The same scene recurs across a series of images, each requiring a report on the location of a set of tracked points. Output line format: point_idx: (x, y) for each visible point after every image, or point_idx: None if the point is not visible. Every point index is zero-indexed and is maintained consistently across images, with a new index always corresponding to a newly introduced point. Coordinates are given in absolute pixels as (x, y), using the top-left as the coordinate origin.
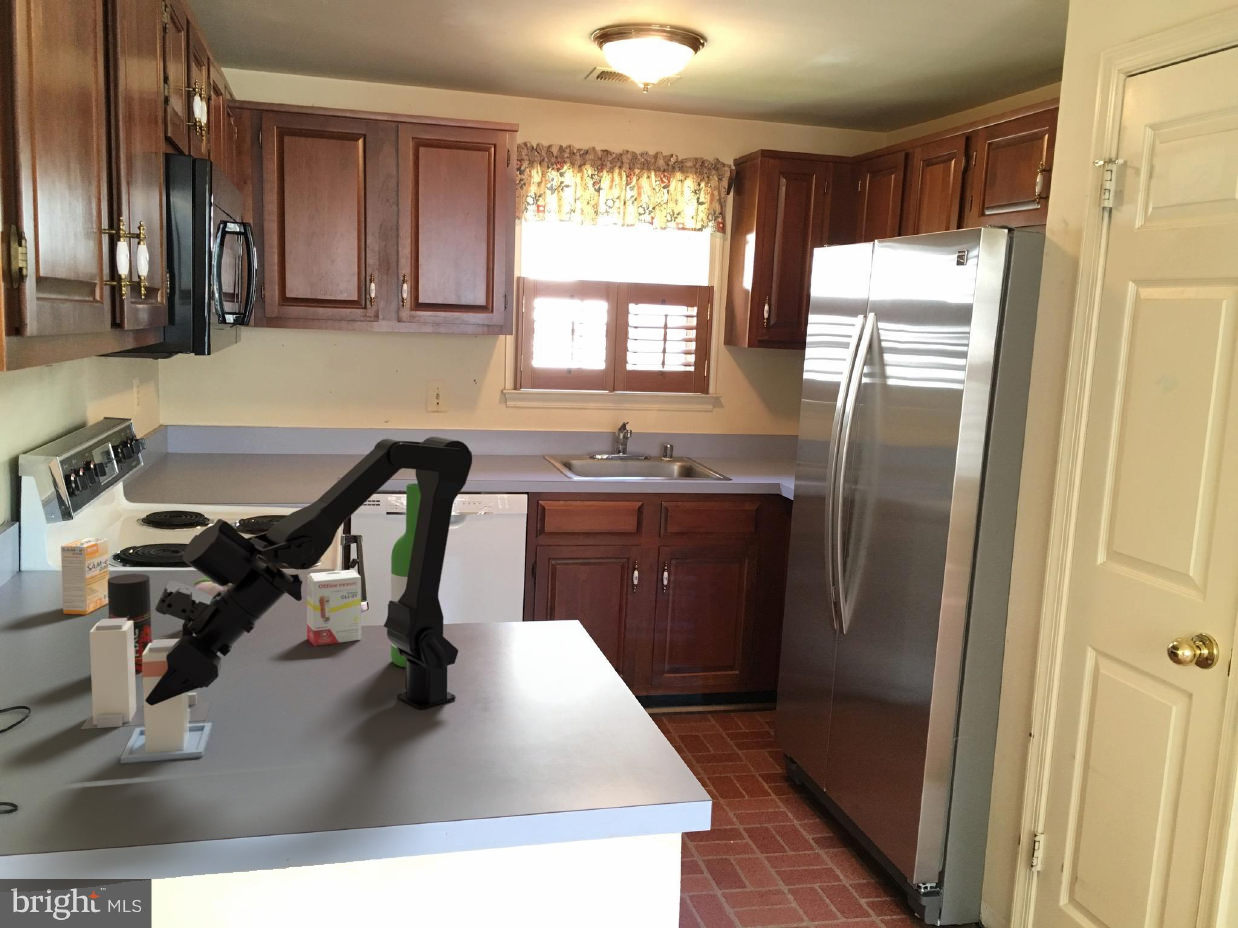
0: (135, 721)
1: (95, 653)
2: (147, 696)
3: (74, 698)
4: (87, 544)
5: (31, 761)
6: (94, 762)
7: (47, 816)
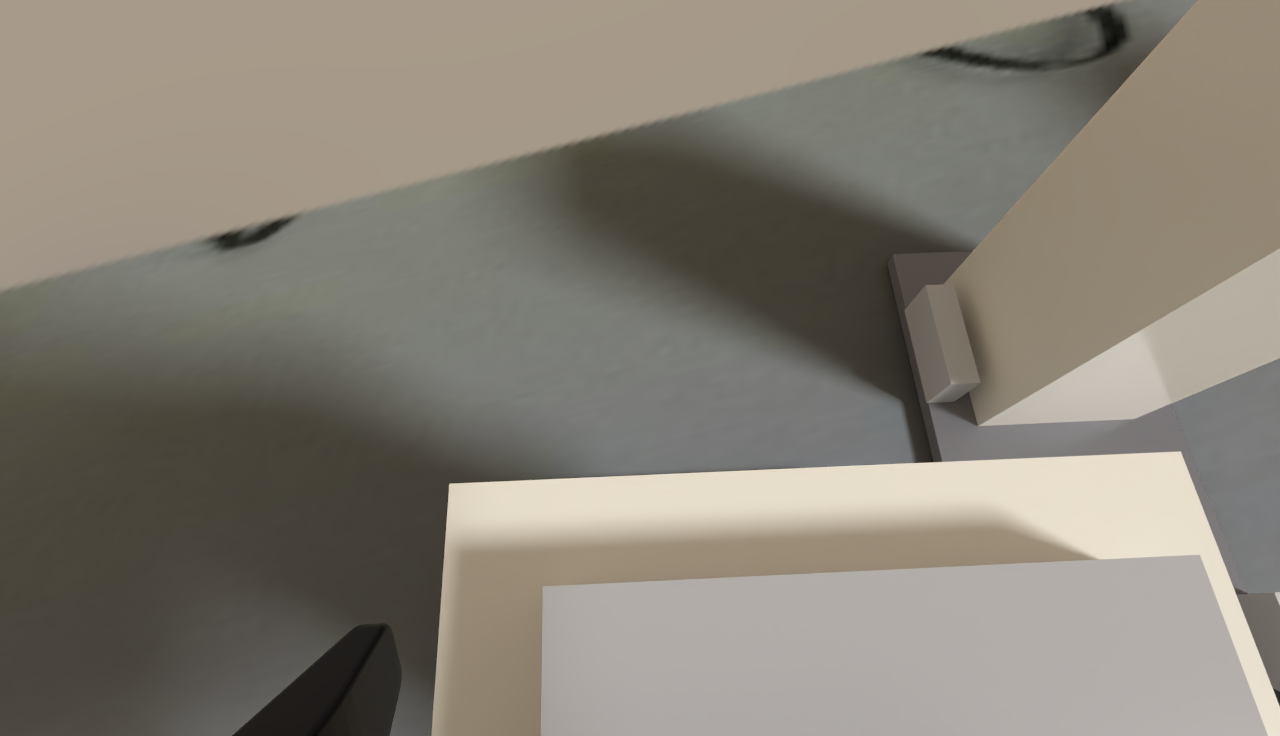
0: (985, 450)
1: (1233, 4)
2: (362, 643)
3: None
4: None
5: (627, 181)
6: (576, 387)
7: (122, 353)
